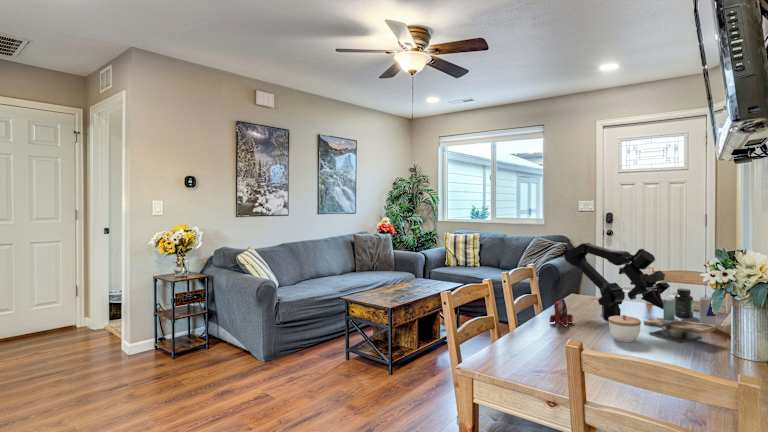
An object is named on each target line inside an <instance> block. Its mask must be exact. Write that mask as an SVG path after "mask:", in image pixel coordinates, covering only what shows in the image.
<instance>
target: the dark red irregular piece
mask: <svg viewBox="0 0 768 432" xmlns="http://www.w3.org/2000/svg"><path fill="white" fill-rule="evenodd" d="M553 305H554V306H553V307H554V314H551V315H550V316H549V323H550V322H554V321H555V324H559V323H561V322H562V323H561V324H562V325H563V324H564V325H567V324H568V323H569V322H572V321H574V318H573V315H572V314H569V313H568V307H567V303H566V301H565V299H564V298H561V299H559V300H558V301H556V302H554V304H553ZM572 323H573V322H572ZM568 325H569V324H568Z"/></svg>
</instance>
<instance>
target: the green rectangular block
mask: <svg viewBox="0 0 768 432" xmlns="http://www.w3.org/2000/svg"><path fill="white" fill-rule="evenodd" d="M662 301H663V309H662V310H663V311H662V312H663V313H662V314H663V317H662V318H664V319H660V321H661V322H666V324H669V323H673V322H677V321H678V320H679V318H675V317H676V316H675V299H670V298H666V299H665V298H664V299H662Z"/></svg>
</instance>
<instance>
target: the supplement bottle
mask: <svg viewBox="0 0 768 432" xmlns="http://www.w3.org/2000/svg"><path fill="white" fill-rule="evenodd" d="M691 295H692V293H691V289H688V288H677V290H676V295H675V296H674V301H675V317H677V318H681V319H693V318H694V297H693V296H691Z"/></svg>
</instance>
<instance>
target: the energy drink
mask: <svg viewBox="0 0 768 432" xmlns="http://www.w3.org/2000/svg"><path fill="white" fill-rule="evenodd" d="M711 298H712V297H707V296H703V297H702V296H701V297H699V299H698V300H699V302H698V303H699V304H698V305H699V309H698V310H699V315H698V316H699V323H702V324H709V325H715V327H716V328H717V313H716V314H713V312H712V307H711Z"/></svg>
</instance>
